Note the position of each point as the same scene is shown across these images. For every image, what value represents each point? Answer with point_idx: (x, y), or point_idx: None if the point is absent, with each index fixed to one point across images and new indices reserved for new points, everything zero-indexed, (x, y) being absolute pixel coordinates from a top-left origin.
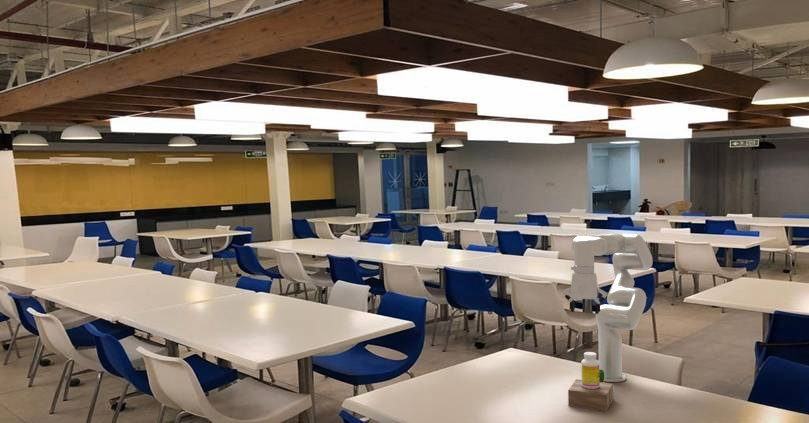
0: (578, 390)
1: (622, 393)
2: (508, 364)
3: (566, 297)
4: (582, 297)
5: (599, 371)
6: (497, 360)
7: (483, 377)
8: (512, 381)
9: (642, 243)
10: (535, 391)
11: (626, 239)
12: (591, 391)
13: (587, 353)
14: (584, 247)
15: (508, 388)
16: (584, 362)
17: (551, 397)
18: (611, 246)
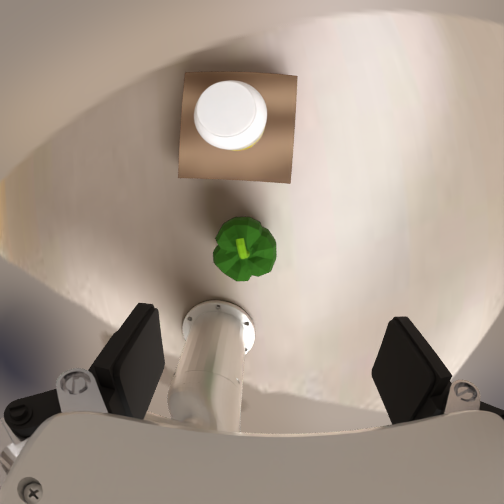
0: (267, 80)
1: (173, 226)
2: (439, 341)
3: (501, 415)
4: (329, 447)
5: (225, 253)
6: (452, 353)
7: (483, 241)
8: (438, 233)
9: None
10: (387, 172)
11: None
12: None
13: (237, 104)
14: None
15: (441, 179)
16: (250, 87)
17: (343, 135)
18: None
